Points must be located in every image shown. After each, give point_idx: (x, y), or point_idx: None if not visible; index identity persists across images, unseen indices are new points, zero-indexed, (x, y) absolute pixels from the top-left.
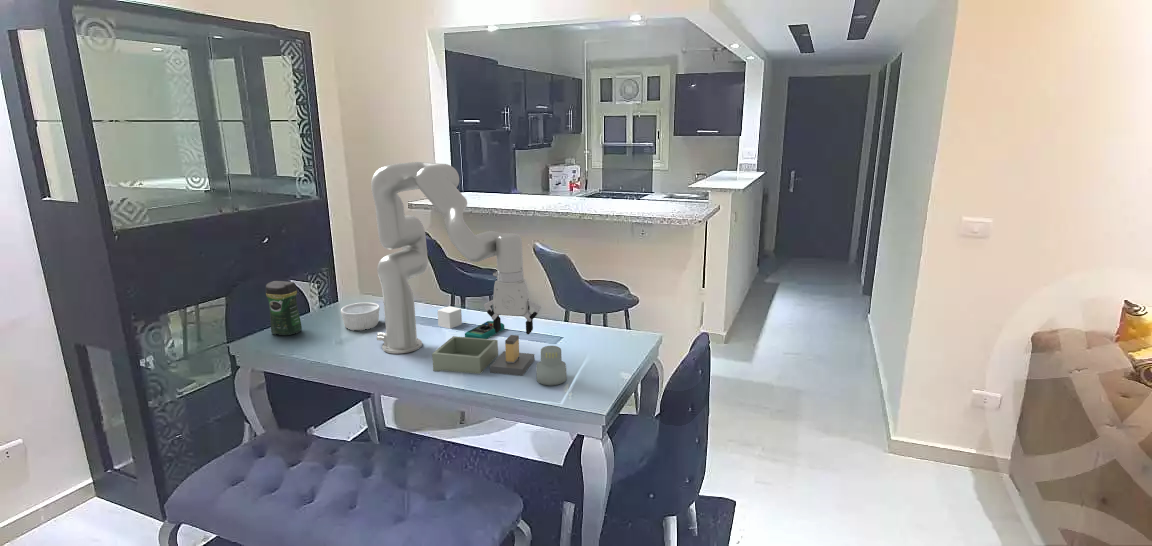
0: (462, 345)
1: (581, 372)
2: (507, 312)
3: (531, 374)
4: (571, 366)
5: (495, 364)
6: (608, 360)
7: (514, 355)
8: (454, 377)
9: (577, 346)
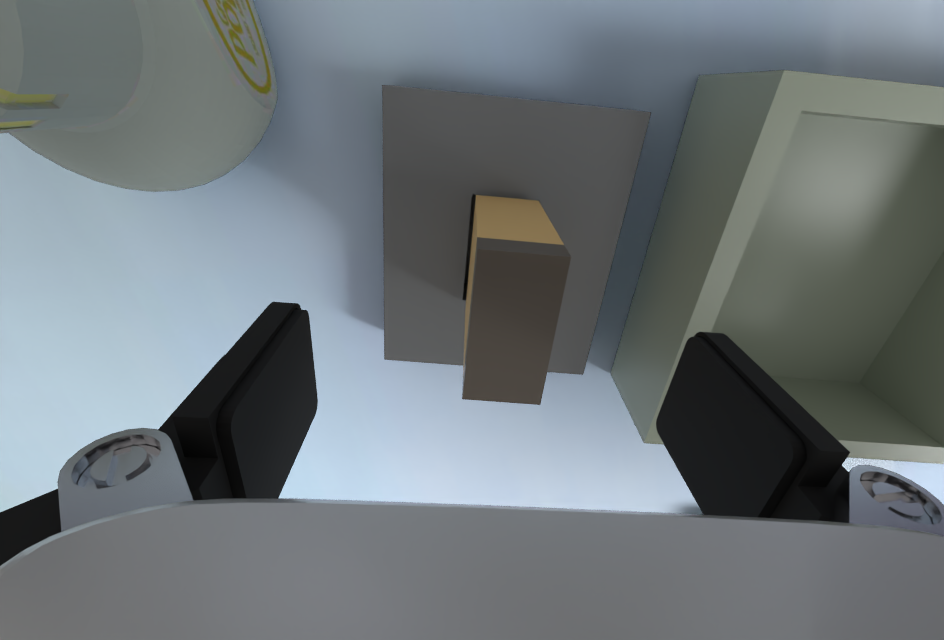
0: (852, 408)
1: (59, 221)
2: (670, 596)
3: (349, 145)
4: (162, 296)
5: (610, 153)
6: (17, 390)
7: (474, 224)
8: (897, 4)
9: None
